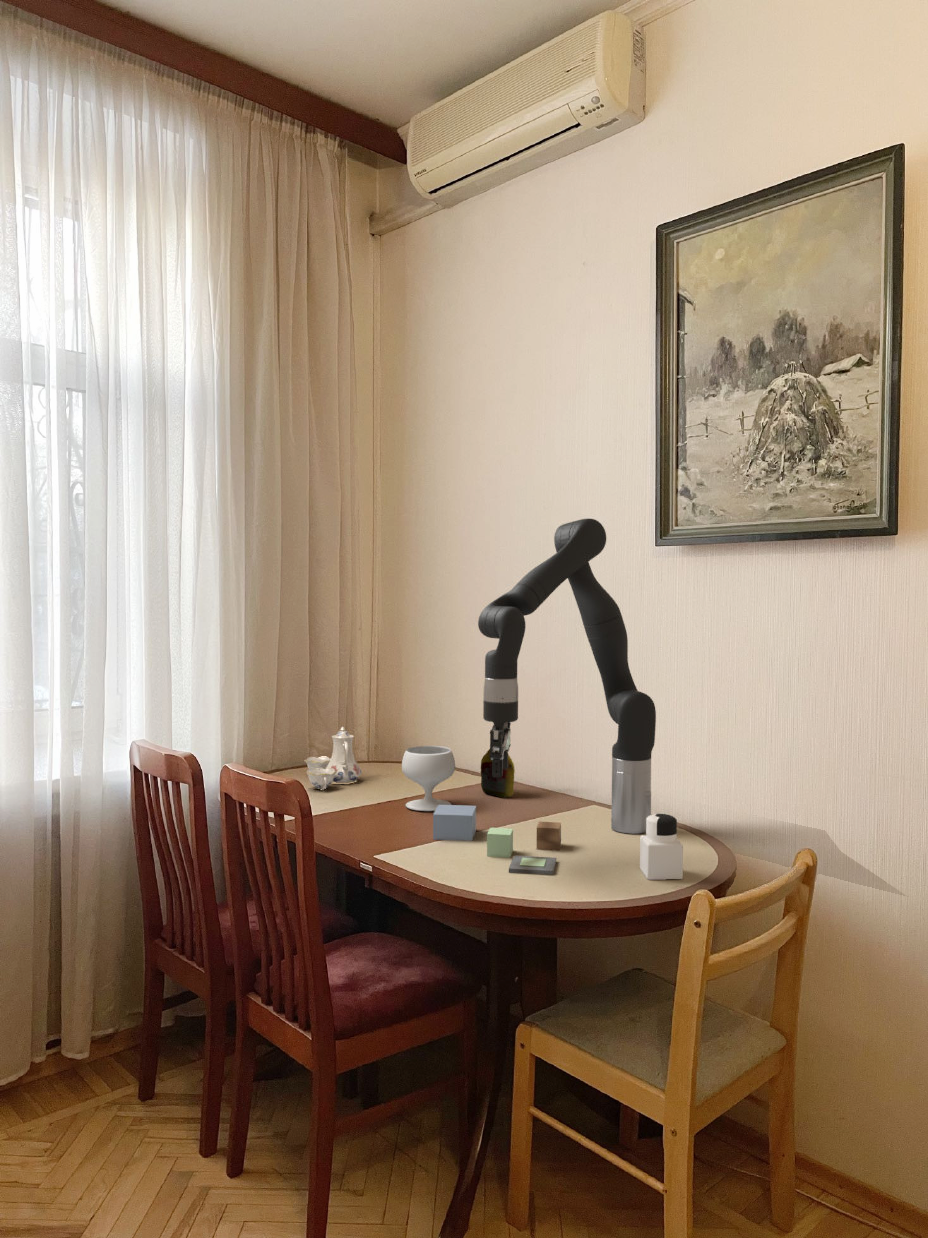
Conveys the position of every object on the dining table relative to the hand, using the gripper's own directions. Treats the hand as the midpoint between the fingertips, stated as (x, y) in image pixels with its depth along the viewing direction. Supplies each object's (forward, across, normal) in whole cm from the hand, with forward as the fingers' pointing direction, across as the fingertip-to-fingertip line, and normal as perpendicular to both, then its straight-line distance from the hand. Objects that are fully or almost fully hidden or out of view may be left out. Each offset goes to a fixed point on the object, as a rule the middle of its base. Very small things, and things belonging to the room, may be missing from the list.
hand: (500, 773), depth 202 cm
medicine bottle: (+18, -8, -34) cm, 39 cm away
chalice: (+18, +37, +24) cm, 47 cm away
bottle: (+18, +53, +8) cm, 56 cm away
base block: (+18, +12, +12) cm, 25 cm away
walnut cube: (+18, +7, -10) cm, 22 cm away
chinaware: (+18, +60, +58) cm, 85 cm away
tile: (+18, -8, -8) cm, 21 cm away
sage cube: (+18, 0, 0) cm, 18 cm away
